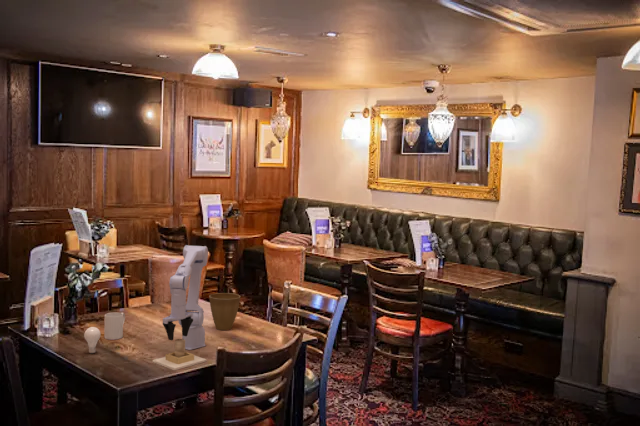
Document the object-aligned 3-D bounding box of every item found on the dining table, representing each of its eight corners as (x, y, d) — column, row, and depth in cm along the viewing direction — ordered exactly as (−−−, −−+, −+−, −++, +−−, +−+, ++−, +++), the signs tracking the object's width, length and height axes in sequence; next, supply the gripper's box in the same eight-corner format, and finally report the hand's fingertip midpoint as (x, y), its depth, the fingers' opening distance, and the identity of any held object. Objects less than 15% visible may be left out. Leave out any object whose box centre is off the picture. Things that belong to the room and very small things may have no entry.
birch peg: (179, 357, 265) (179, 338, 264) (186, 359, 263) (187, 340, 262) (172, 360, 261) (172, 340, 260) (180, 362, 259) (180, 342, 258)
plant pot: (242, 331, 310) (243, 298, 309) (212, 333, 305) (212, 299, 304) (235, 323, 324) (236, 291, 323) (205, 325, 319) (206, 293, 317)
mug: (116, 340, 287) (116, 317, 286) (100, 338, 289) (101, 315, 288) (131, 333, 299) (131, 311, 298) (116, 331, 301) (116, 309, 300)
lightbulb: (81, 352, 268) (81, 326, 267) (96, 350, 273) (96, 324, 272) (88, 356, 264) (88, 330, 263) (103, 353, 268) (103, 327, 267)
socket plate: (184, 353, 273) (184, 346, 272) (206, 361, 264) (206, 354, 263) (152, 362, 260) (152, 354, 260) (174, 370, 251) (174, 362, 251)
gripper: (184, 300, 270) (184, 332, 271) (157, 306, 258) (157, 339, 259) (196, 303, 266) (196, 335, 267) (170, 309, 254) (169, 343, 255)
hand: (177, 337), depth 263 cm, fingers open, 7 cm apart
